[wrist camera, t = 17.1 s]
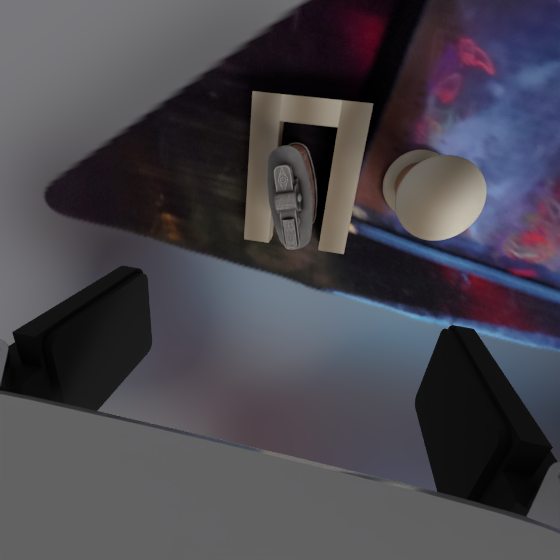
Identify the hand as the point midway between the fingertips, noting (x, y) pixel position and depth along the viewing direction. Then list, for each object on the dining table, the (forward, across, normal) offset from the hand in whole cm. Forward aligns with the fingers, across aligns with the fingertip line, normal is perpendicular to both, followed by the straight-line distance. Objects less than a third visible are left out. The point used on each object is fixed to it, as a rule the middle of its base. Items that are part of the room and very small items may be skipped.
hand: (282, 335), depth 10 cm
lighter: (+25, +2, -1) cm, 25 cm away
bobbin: (+25, -8, -2) cm, 26 cm away
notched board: (+24, +2, -2) cm, 25 cm away
